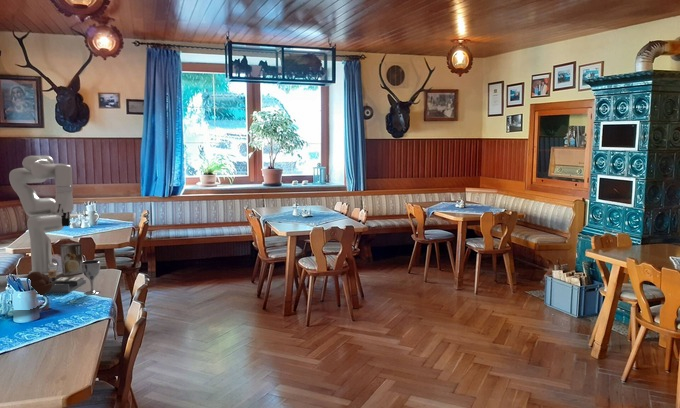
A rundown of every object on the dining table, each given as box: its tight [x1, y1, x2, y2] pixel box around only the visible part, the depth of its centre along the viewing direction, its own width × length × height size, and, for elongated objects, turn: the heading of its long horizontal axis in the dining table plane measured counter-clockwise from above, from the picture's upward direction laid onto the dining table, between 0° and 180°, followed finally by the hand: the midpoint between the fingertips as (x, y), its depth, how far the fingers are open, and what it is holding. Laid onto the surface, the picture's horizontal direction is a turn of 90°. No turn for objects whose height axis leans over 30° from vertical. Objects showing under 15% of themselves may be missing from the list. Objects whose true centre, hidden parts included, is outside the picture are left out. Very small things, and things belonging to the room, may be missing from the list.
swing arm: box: [47, 262, 59, 279], centre depth 250 cm, size 18×4×3 cm, turn 28°
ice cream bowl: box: [26, 272, 53, 296], centre depth 228 cm, size 11×11×15 cm
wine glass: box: [82, 259, 101, 296], centre depth 246 cm, size 8×8×15 cm
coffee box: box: [59, 242, 84, 277], centre depth 281 cm, size 9×6×16 cm
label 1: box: [56, 277, 69, 281], centre depth 258 cm, size 5×4×1 cm
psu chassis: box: [47, 276, 87, 294], centre depth 254 cm, size 19×15×8 cm
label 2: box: [69, 277, 81, 281], centre depth 258 cm, size 5×4×1 cm
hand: (66, 225), depth 260 cm, fingers closed
